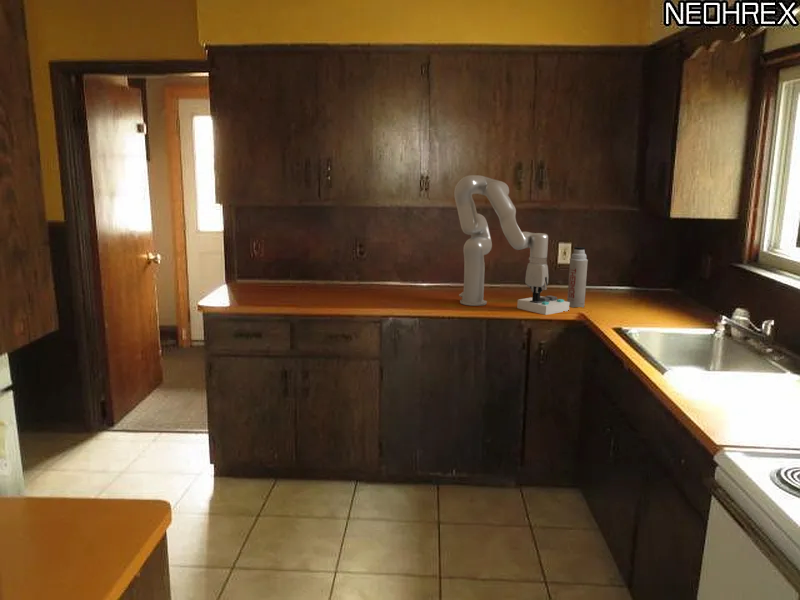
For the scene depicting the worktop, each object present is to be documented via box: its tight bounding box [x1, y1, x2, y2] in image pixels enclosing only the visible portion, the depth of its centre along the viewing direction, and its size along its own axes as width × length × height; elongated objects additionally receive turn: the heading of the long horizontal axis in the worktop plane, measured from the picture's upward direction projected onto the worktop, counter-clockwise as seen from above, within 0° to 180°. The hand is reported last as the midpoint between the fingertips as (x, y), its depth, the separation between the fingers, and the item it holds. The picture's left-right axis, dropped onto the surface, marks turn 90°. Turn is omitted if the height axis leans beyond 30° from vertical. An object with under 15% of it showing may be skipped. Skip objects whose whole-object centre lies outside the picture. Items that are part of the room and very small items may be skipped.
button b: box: [540, 296, 550, 302], centre depth 303 cm, size 4×3×4 cm
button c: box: [544, 294, 558, 301], centre depth 306 cm, size 4×3×4 cm
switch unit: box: [516, 295, 570, 316], centre depth 303 cm, size 17×16×5 cm
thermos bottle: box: [566, 246, 589, 308], centre depth 309 cm, size 8×8×28 cm
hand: (536, 300), depth 300 cm, fingers closed
